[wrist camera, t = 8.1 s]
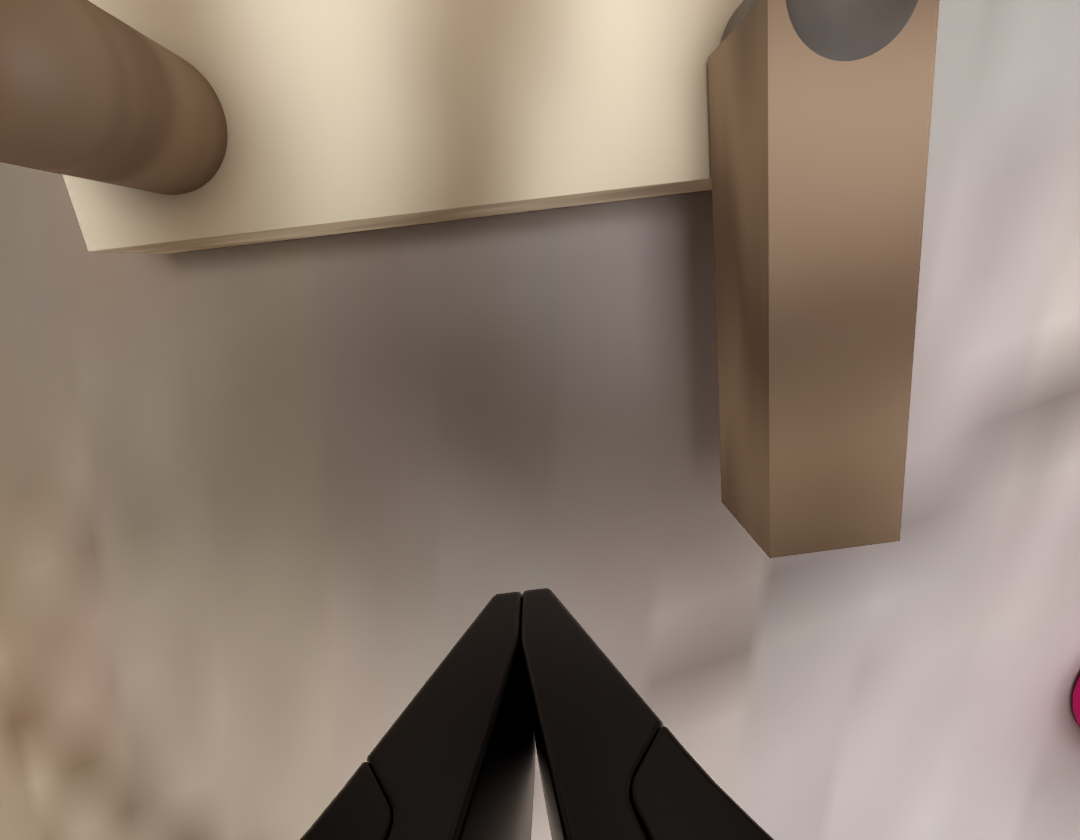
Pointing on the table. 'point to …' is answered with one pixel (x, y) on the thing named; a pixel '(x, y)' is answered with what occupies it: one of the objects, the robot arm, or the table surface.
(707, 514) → the table surface
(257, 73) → the stool seat
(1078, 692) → the pepper mill
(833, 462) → the hinged leg
